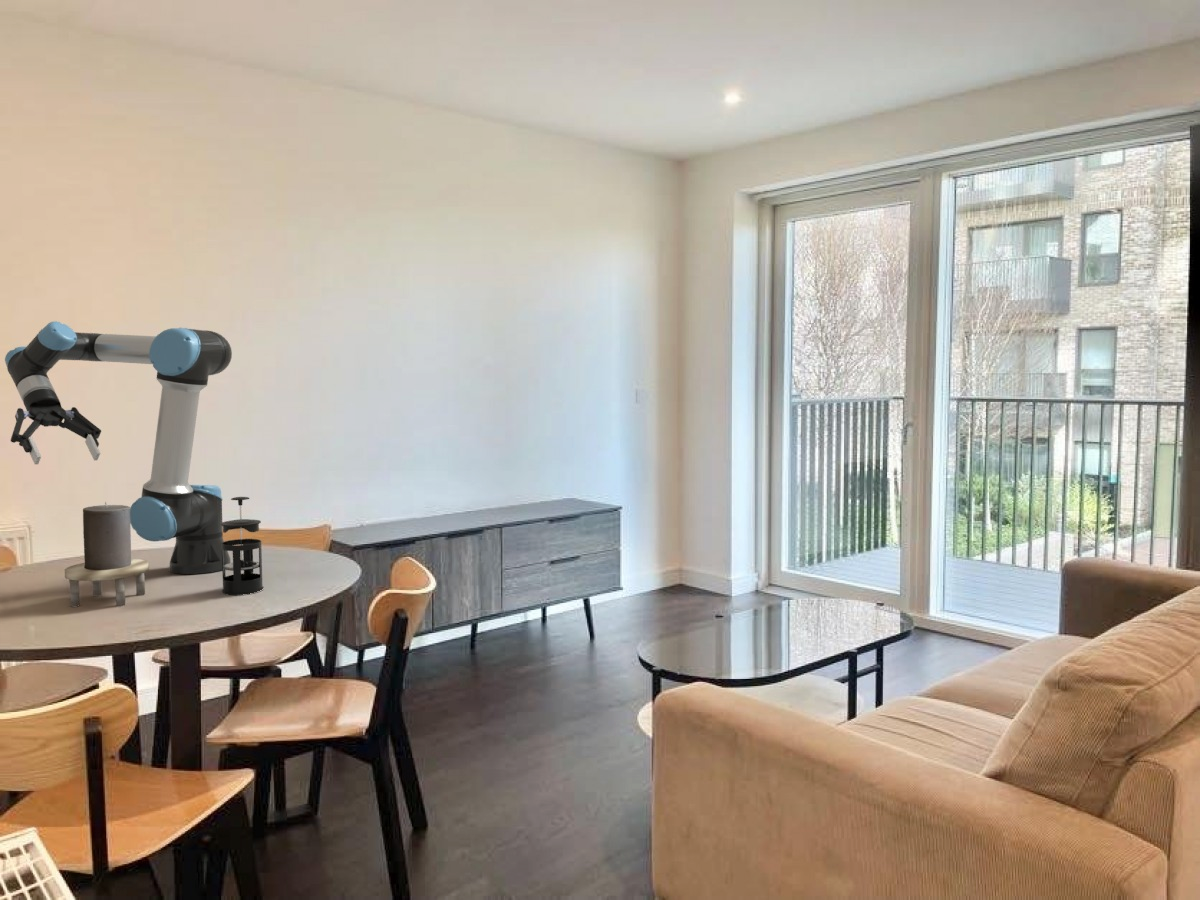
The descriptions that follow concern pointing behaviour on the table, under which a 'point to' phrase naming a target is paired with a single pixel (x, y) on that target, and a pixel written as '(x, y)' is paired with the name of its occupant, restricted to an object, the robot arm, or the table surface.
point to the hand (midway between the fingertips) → (68, 458)
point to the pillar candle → (107, 537)
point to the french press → (242, 558)
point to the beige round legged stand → (82, 574)
